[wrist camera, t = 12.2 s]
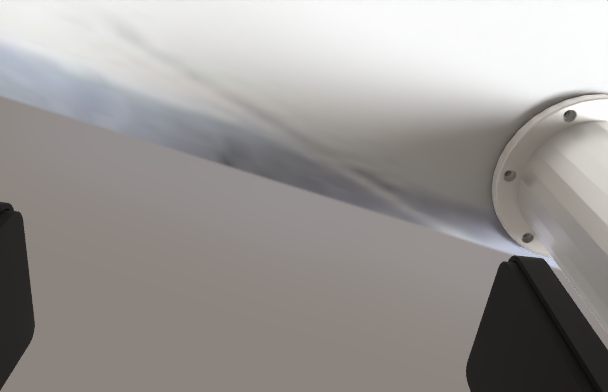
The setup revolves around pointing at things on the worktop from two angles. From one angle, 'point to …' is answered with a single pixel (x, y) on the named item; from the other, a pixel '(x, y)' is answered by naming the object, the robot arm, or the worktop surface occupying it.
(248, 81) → the worktop surface
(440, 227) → the worktop surface
